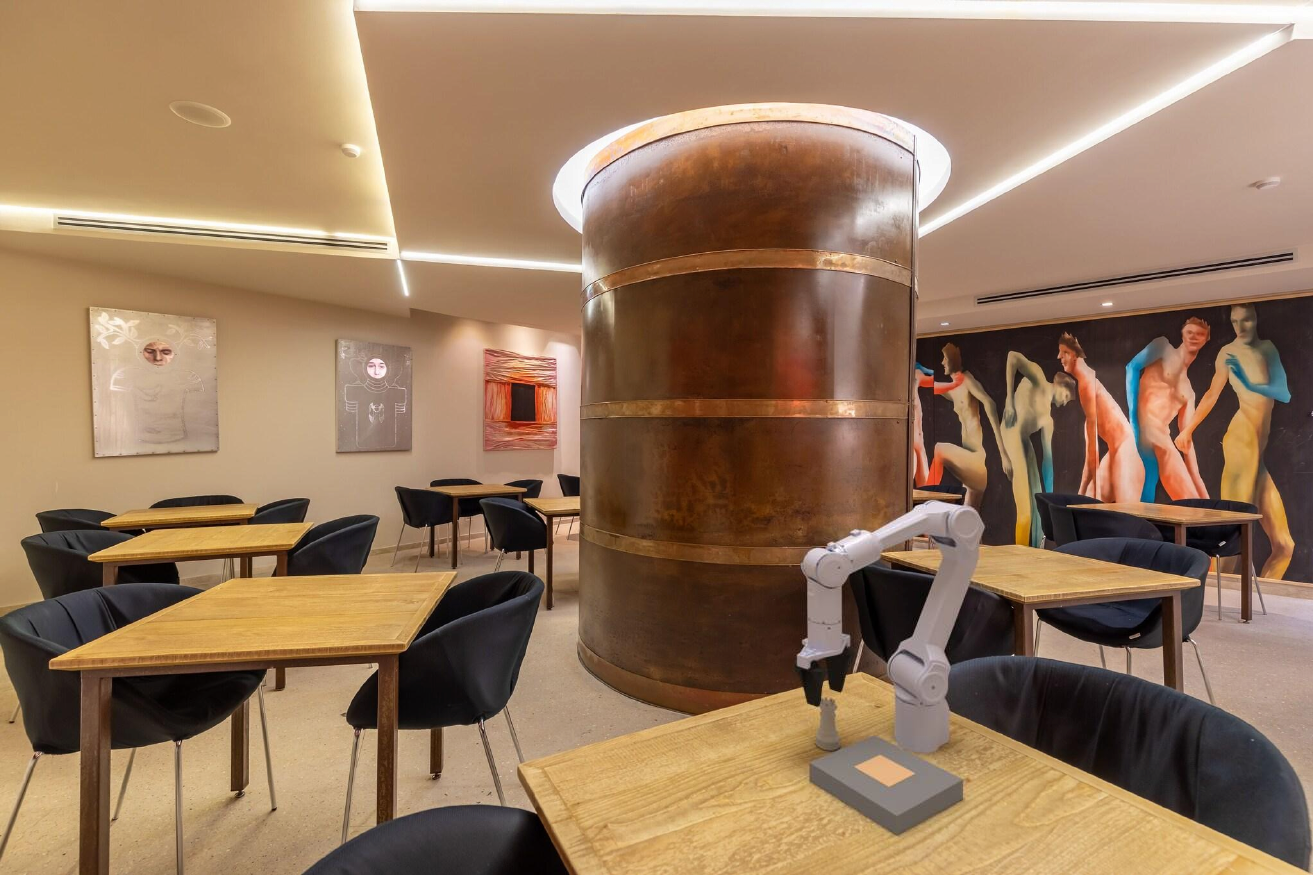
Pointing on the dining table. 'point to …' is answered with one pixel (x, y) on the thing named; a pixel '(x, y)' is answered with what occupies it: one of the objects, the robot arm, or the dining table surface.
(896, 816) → the grey flat square slab
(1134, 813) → the dining table surface
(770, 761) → the dining table surface
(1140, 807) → the dining table surface
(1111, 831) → the dining table surface
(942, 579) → the robot arm
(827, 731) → the rook chess piece
